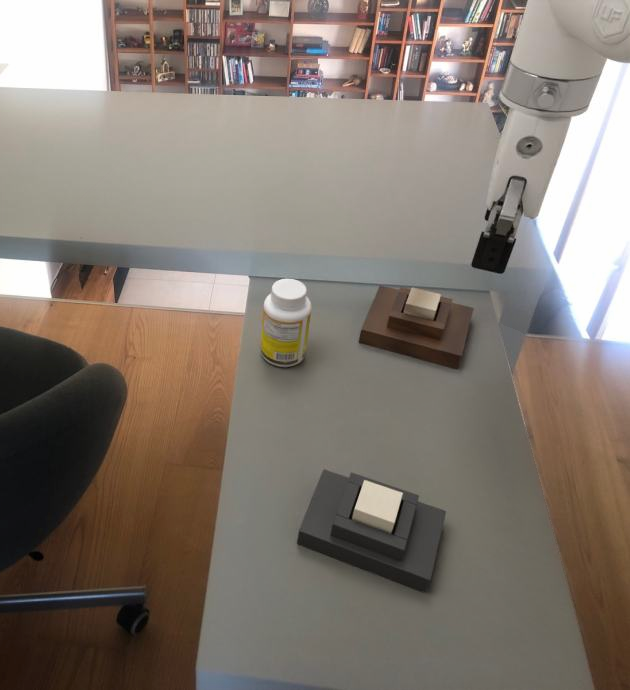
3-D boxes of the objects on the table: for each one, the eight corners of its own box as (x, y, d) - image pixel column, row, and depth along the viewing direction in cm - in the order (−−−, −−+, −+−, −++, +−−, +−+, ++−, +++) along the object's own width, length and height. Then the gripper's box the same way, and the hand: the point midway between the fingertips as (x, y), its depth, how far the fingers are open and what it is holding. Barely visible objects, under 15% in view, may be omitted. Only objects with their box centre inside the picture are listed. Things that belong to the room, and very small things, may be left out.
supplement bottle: (284, 333, 89) (291, 268, 82) (314, 357, 86) (324, 291, 79) (250, 350, 87) (255, 285, 80) (280, 375, 83) (287, 309, 76)
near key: (399, 503, 65) (403, 492, 64) (391, 534, 62) (394, 523, 61) (361, 490, 66) (364, 479, 65) (351, 520, 64) (354, 508, 63)
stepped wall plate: (441, 523, 67) (450, 499, 65) (425, 593, 62) (435, 569, 59) (320, 482, 71) (325, 457, 69) (296, 543, 66) (300, 519, 63)
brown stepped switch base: (469, 321, 90) (477, 296, 87) (457, 369, 83) (465, 344, 81) (377, 298, 94) (382, 274, 91) (358, 342, 87) (363, 317, 85)
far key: (438, 305, 87) (441, 294, 86) (432, 321, 85) (436, 310, 83) (409, 298, 88) (411, 287, 87) (403, 314, 86) (405, 303, 85)
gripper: (590, 131, 55) (522, 299, 67) (597, 58, 67) (538, 213, 78) (491, 115, 58) (442, 280, 69) (514, 48, 69) (468, 199, 81)
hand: (493, 244), depth 74 cm, fingers open, 9 cm apart
